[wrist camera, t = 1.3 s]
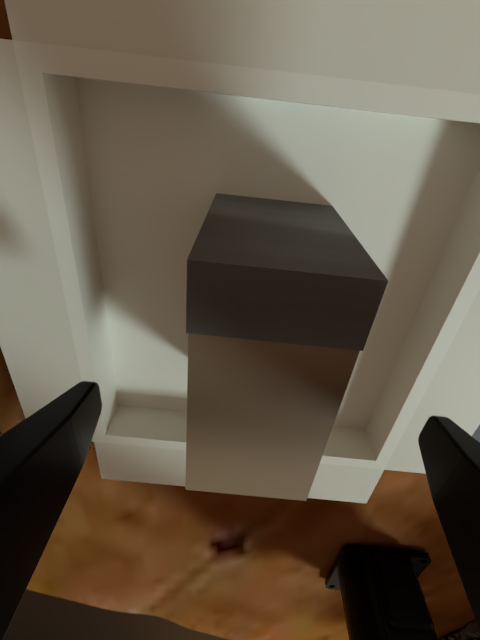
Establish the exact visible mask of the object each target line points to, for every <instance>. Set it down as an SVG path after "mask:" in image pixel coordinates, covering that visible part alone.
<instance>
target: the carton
mask: <svg viewBox="0 0 480 640" xmlns="http://www.w3.org/2000/svg"><path fill="white" fill-rule="evenodd" d="M4 1H5V6H6V11H7V16H8V21H9V26H10V31H11V36H12V40H8V39H0V347H1V350H2V353H3V355H4V358H5V361H6V364H7V367H8V370H9V373H10V376H11V378H12V381H13V384H14V387H15V390H16V393H17V396H18V398H19V401H20V404H21V407H22V410H23V413H24V416H25V419H26V418H28V417H29V416H31V415H32V414H33V413H35V412H36V411H38V410H39V409H41V408H42V407H44V406H45V405H47V404H48V403H50V402H51V401H53V400H54V399H56V398H57V397H58V396H60V395H61V394H63V393H64V392H66V391H67V390H69V389H70V388H72V387H73V386H75V385H76V384H78V383H79V382H81V381H90V382H96V383H98V385H99V389H100V395H101V401H102V410H101V414H100V417H99V420H98V423H97V426H96V429H95V432H94V435H93V438H92V441H91V442H94V444H95V449H96V454H97V459H98V464H99V469H100V474H101V479H110V480H121V481H132V482H142V483H153V484H164V485H174V486H186V433H187V380H188V333H186V292H187V258H188V256H189V254H190V252H191V249H192V247H193V245H194V243H195V240H196V238H197V236H198V234H199V231H200V229H201V227H202V224H203V222H204V220H205V218H206V215H207V213H208V211H209V209H210V206H211V204H212V202H213V200H214V197H215V195H216V193H219V194H228V195H238V196H247V197H256V198H265V199H274V200H283V201H293V202H302V203H311V204H320V205H329V206H333V207H334V209H335V210H336V211H337V213H338V214H339V215H340V217H341V218H342V219H343V221H344V222H345V223H346V225H347V226H348V227H349V229H350V230H351V231H352V233H353V234H354V235H355V237H356V238H357V239H358V241H359V242H360V243H361V245H362V246H363V247H364V249H365V250H366V251H367V253H368V254H369V256H370V257H371V258H372V260H373V261H374V262H375V264H376V265H377V266H378V268H379V269H380V270H381V272H382V273H383V274H384V276H385V277H386V278H387V280H388V284H387V286H386V289H385V292H384V295H383V297H382V300H381V303H380V306H379V308H378V311H377V314H376V317H375V319H374V322H373V325H372V327H371V330H370V333H369V336H368V338H367V341H366V344H365V347H364V349H363V351H360V352H359V355H358V358H357V361H356V363H355V366H354V369H353V372H352V375H351V377H350V380H349V383H348V386H347V388H346V391H345V394H344V397H343V400H342V402H341V405H340V408H339V411H338V414H337V416H336V419H335V422H334V425H333V428H332V430H331V433H330V436H329V439H328V442H327V444H326V447H325V450H324V453H323V456H322V458H321V461H320V464H319V467H318V470H317V472H316V475H315V478H314V481H313V483H312V486H311V489H310V492H309V495H308V497H307V498H313V499H324V500H335V501H345V502H356V503H367V501H368V499H369V498H370V496H371V494H372V492H373V490H374V488H375V486H376V484H377V482H378V481H379V479H380V477H381V475H382V473H383V471H384V470H394V471H404V472H415V473H425V474H426V472H425V468H424V464H423V460H422V456H421V452H420V448H419V443H418V438H419V434H420V432H421V431H422V429H423V427H424V425H425V423H426V422H427V420H428V418H429V417H431V416H444V417H448V418H449V419H451V420H452V421H453V422H454V423H456V424H457V425H458V426H459V427H461V428H462V429H463V430H464V431H466V432H467V433H468V434H469V435H471V436H472V435H473V434H474V432H475V431H476V429H477V428H478V426H479V425H480V0H4Z"/></svg>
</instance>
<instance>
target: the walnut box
mask: <svg viewBox="0 0 480 640" xmlns="http://www.w3.org/2000/svg"><path fill="white" fill-rule="evenodd" d="M387 284H388V280H387V278H386V277H385V276H384V274H383V273H382V272H381V270H380V269H379V268H378V266H377V265H376V264H375V262H374V261H373V260H372V258H371V257H370V256H369V254H368V253H367V251H366V250H365V249H364V247H363V246H362V245H361V243H360V242H359V241H358V239H357V238H356V237H355V235H354V234H353V233H352V231H351V230H350V229H349V227H348V226H347V225H346V223H345V222H344V221H343V219H342V218H341V217H340V215H339V214H338V213H337V211H336V210H335V209H334V207H333V206H329V205H320V204H311V203H302V202H293V201H283V200H274V199H265V198H256V197H247V196H238V195H228V194H219V193H216V195H215V197H214V200H213V202H212V204H211V206H210V209H209V211H208V213H207V215H206V218H205V220H204V222H203V224H202V227H201V229H200V231H199V234H198V236H197V238H196V240H195V243H194V245H193V247H192V249H191V252H190V254H189V256H188V258H187V292H186V333H188V380H187V433H186V486H185V490H193V491H204V492H215V493H226V494H236V495H247V496H258V497H268V498H279V499H290V500H301V501H306V500H307V497H308V495H309V492H310V489H311V486H312V483H313V481H314V478H315V475H316V472H317V470H318V467H319V464H320V461H321V458H322V456H323V453H324V450H325V447H326V444H327V442H328V439H329V436H330V433H331V430H332V428H333V425H334V422H335V419H336V416H337V414H338V411H339V408H340V405H341V402H342V400H343V397H344V394H345V391H346V388H347V386H348V383H349V380H350V377H351V375H352V372H353V369H354V366H355V363H356V361H357V358H358V355H359V352H360V351H363V349H364V347H365V344H366V341H367V338H368V336H369V333H370V330H371V327H372V325H373V322H374V319H375V317H376V314H377V311H378V308H379V306H380V303H381V300H382V297H383V295H384V292H385V289H386V286H387Z"/></svg>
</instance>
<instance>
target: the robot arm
mask: <svg viewBox="0 0 480 640" xmlns="http://www.w3.org/2000/svg"><path fill="white" fill-rule="evenodd" d="M101 410H102V401H101V395H100V389H99V385H98V383H96V382H90V381H81V382H79V383H78V384H76V385H75V386H73V387H72V388H70V389H69V390H67V391H66V392H64V393H63V394H61V395H60V396H58V397H57V398H56V399H54V400H53V401H51V402H50V403H48V404H47V405H45V406H44V407H42V408H41V409H39V410H38V411H36V412H35V413H33V414H32V415H31V416H29V417H28V418H26V419H25V420H23V421H22V422H20V423H19V424H17V425H16V426H14V427H13V428H11V429H10V430H8V431H7V432H6V433H4V434H3V435H1V436H0V640H2V639H3V637H4V635H5V633H6V631H7V629H8V626H9V624H10V622H11V620H12V618H13V616H14V614H15V611H16V609H17V607H18V605H19V603H20V601H21V599H22V596H23V594H24V592H25V590H26V588H27V586H28V583H29V581H30V579H31V577H32V575H33V573H34V571H35V568H36V566H37V564H38V562H39V560H40V558H41V555H42V553H43V551H44V549H45V547H46V545H47V543H48V540H49V538H50V536H51V534H52V532H53V530H54V527H55V525H56V523H57V521H58V519H59V517H60V514H61V512H62V510H63V508H64V506H65V504H66V502H67V499H68V497H69V495H70V493H71V491H72V489H73V486H74V484H75V482H76V480H77V478H78V476H79V473H80V471H81V469H82V467H83V464H84V461H85V458H86V456H87V453H88V450H89V447H90V444H91V441H92V438H93V435H94V432H95V429H96V426H97V423H98V420H99V417H100V414H101ZM418 443H419V448H420V452H421V456H422V460H423V464H424V468H425V472H426V476H427V480H428V484H429V488H430V492H431V495H432V499H433V502H434V505H435V508H436V511H437V513H438V516H439V519H440V522H441V525H442V527H443V530H444V533H445V536H446V539H447V541H448V544H449V547H450V550H451V553H452V555H453V558H454V561H455V564H456V567H457V569H458V572H459V575H460V578H461V581H462V583H463V586H464V589H465V592H466V594H467V597H468V600H469V603H470V606H471V608H472V611H473V614H474V617H475V620H476V622H477V625H478V628H479V631H480V442H478V441H477V440H476V439H475V438H473V437H472V436H471V435H469V434H468V433H467V432H466V431H464V430H463V429H462V428H461V427H459V426H458V425H457V424H456V423H454V422H453V421H452V420H451V419H449V418H448V417H444V416H431V417H429V418H428V420H427V422H426V423H425V425H424V427H423V429H422V431H421V432H420V434H419V438H418ZM430 562H431V559H430V557H429V554H428V553H426V552H417V551H406V550H395V549H384V548H373V547H362V546H351V545H349V546H344V547H343V548H342V549H341V551H340V553H339V555H338V557H337V559H336V561H335V563H334V565H333V566H332V568H331V570H330V572H329V574H328V576H327V578H326V580H325V584H326V588H328V589H335V590H341V595H342V601H343V607H344V612H345V618H346V624H347V630H348V635H349V640H438V638H437V636H436V633H435V630H434V626H433V622H432V619H431V616H430V613H429V610H428V607H427V604H426V601H425V598H424V596H423V593H422V590H421V587H420V584H419V581H418V578H417V577H418V576H419V575H420V574H421V573H422V572H423V570H424V569H425V568H426V567H427V566H428V565H429V563H430Z"/></svg>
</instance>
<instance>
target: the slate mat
mask: <svg viewBox="0 0 480 640" xmlns="http://www.w3.org/2000/svg"><path fill="white" fill-rule="evenodd" d="M472 437H473V438H475V439H476V440H477V441H478V442H480V425H479V426H478V428H477V429H476V431H475V432H474V434H473V435H472Z"/></svg>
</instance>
